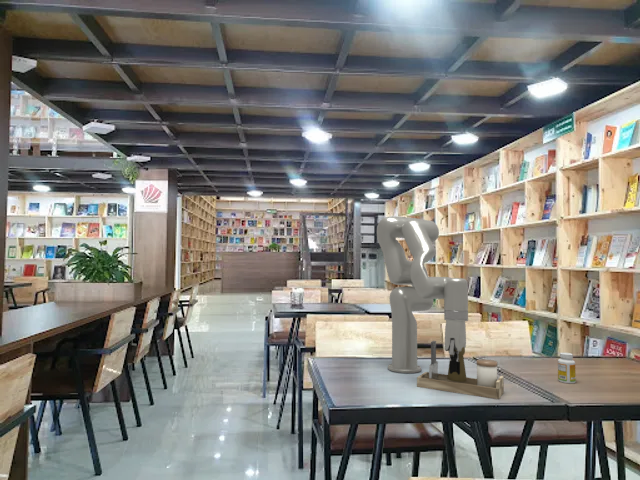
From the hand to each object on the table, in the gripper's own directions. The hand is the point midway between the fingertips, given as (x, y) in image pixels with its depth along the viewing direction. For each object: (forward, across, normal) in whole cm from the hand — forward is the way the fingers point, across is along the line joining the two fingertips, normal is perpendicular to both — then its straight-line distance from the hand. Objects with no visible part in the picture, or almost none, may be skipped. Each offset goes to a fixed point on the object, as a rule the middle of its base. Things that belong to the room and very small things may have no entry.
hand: (456, 371), depth 144 cm
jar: (+6, 0, +9) cm, 11 cm away
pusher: (+5, 0, -8) cm, 9 cm away
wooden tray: (+5, 0, +1) cm, 6 cm away
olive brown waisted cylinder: (+2, 0, 0) cm, 2 cm away
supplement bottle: (+6, -31, +30) cm, 44 cm away
